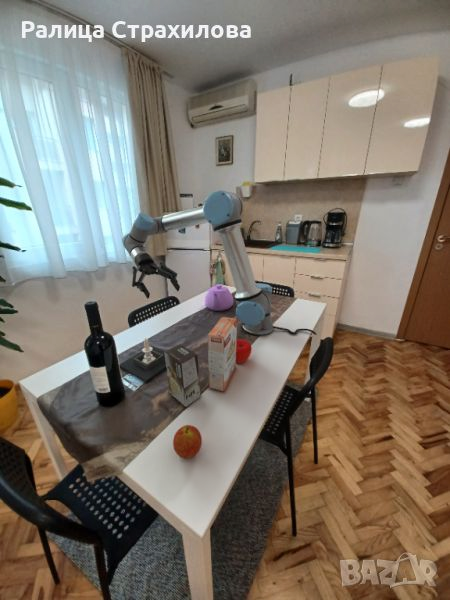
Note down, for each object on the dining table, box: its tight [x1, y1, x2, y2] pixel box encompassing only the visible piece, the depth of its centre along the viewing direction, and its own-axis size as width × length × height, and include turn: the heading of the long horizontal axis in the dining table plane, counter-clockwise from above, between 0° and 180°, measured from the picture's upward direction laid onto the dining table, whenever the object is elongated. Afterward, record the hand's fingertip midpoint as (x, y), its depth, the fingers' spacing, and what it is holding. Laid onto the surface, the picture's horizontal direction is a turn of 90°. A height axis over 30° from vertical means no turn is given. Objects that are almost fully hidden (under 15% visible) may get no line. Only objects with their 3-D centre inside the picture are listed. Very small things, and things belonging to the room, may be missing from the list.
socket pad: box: [118, 345, 167, 383], centre depth 93 cm, size 16×16×3 cm
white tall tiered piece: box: [141, 337, 156, 364], centre depth 91 cm, size 5×5×10 cm
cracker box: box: [207, 316, 238, 392], centre depth 82 cm, size 14×6×21 cm, turn 161°
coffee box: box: [164, 343, 201, 408], centre depth 75 cm, size 9×6×16 cm
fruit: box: [172, 424, 203, 459], centre depth 58 cm, size 7×7×8 cm
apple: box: [236, 338, 253, 364], centre depth 94 cm, size 9×9×8 cm
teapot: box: [204, 283, 234, 312], centre depth 143 cm, size 25×18×14 cm
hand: (164, 292), depth 98 cm, fingers open, 13 cm apart
